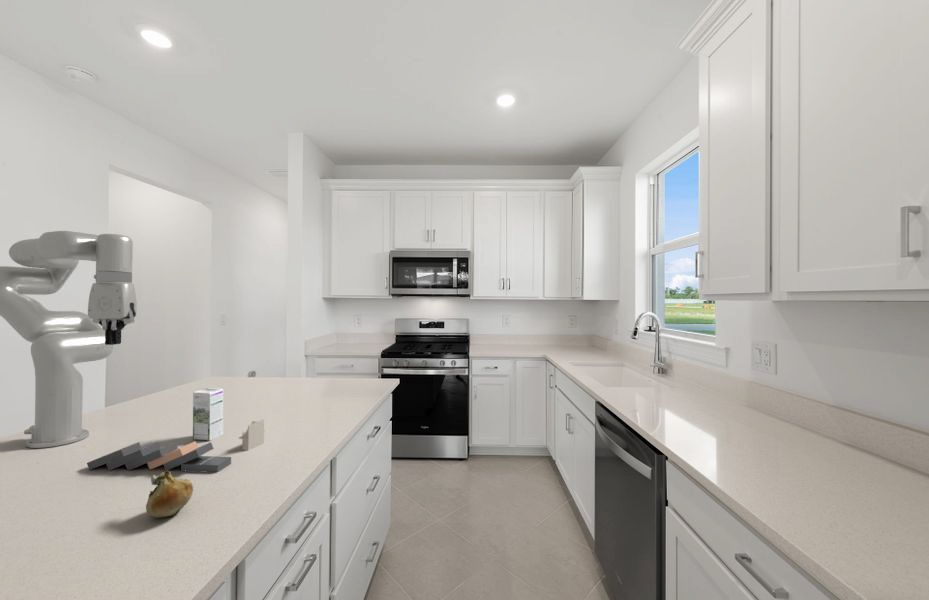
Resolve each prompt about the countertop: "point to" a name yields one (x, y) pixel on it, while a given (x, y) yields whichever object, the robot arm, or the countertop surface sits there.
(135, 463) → the domino
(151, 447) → the domino
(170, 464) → the domino
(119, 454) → the domino
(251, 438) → the architectural model
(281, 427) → the countertop surface
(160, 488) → the onion
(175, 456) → the domino
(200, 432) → the syrup box
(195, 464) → the domino
